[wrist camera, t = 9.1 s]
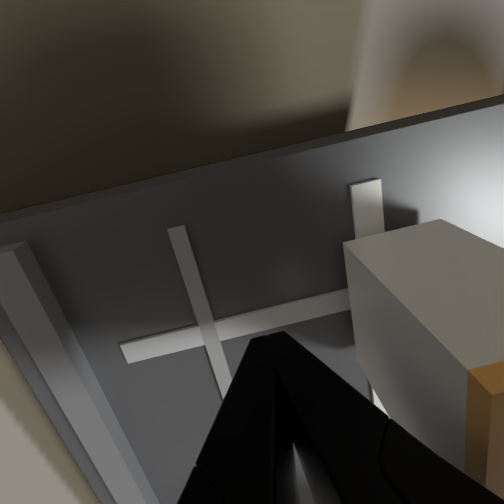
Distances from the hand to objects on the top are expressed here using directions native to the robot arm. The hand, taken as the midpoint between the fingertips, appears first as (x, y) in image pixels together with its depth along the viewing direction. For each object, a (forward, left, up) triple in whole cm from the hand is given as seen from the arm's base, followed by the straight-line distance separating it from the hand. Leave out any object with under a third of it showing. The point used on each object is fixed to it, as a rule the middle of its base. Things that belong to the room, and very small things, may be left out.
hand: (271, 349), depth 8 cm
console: (-3, +5, -3) cm, 7 cm away
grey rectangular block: (-3, 0, -1) cm, 4 cm away
